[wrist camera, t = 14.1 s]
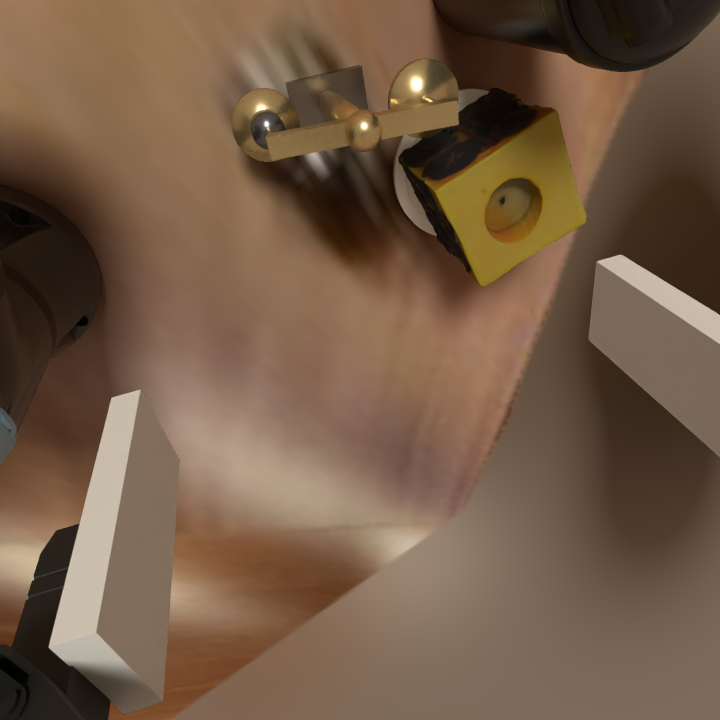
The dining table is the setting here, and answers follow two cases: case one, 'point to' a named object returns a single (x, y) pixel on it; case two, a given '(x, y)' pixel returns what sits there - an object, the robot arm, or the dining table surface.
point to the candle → (496, 184)
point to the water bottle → (587, 27)
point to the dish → (402, 183)
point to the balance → (344, 112)
